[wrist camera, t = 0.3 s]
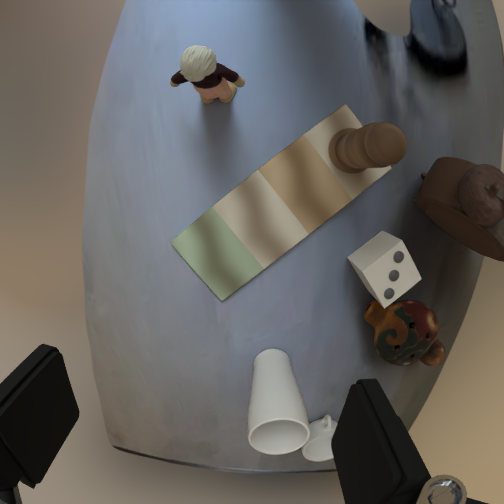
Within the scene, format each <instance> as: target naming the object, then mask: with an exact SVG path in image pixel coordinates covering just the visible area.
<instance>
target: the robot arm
mask: <svg viewBox="0 0 504 504" xmlns="http://www.w3.org/2000/svg"><path fill="white" fill-rule="evenodd" d="M78 418H79V408H78V405H77V402H76V400H75V396H74V393H73V390H72V387H71V384H70V381H69V377H68V374H67V371H66V367H65V363H64V360H63V356H62V354H61V353H60V352H59V350H58V349H57V348H56V347H53V346H49V345H46V344H41V345H40V346H39V347H38V348H36V349H35V350H34V351H33V352H32V353H31V354H30V355H29V356H28V357H27V358H26V359H25V360H24V361H23V362H22V363H21V364H20V365H19V366H18V367H17V368H16V369H15V370H14V371H13V372H12V373H11V374H10V375H9V376H8V377H7V378H6V379H5V380H4V381H3V382H2V383H1V384H0V504H22V501H21V497H20V493H19V489H18V485H17V484H18V482H19V481H21V482H22V483H24V484H26V485H27V486H29V487H31V488H33V489H34V487H35V485H36V484H38V483H40V482H41V481H42V480H43V478H44V476H45V474H46V472H47V471H48V469H49V467H50V465H51V463H52V462H53V460H54V458H55V457H56V455H57V453H58V451H59V450H60V448H61V446H62V445H63V443H64V441H65V440H66V438H67V436H68V435H69V433H70V431H71V430H72V428H73V426H74V425H75V423H76V422H77V420H78ZM331 449H332V453H333V457H334V461H335V465H336V468H337V472H338V476H339V480H340V484H341V488H342V492H343V496H344V500H345V504H488V503H484V502H481V501H477V500H474V499H470V498H467V491H466V488H465V486H464V485H463V483H462V482H461V481H460V480H459V479H457V478H455V477H453V476H450V475H437V476H435V477H433V478H431V476H430V474H429V472H428V470H427V468H426V466H425V464H424V462H423V460H422V458H421V456H420V455H419V452H418V451H417V448H416V446H415V445H414V443H413V441H412V439H411V437H410V435H409V433H408V431H407V429H406V428H405V426H404V424H403V422H402V420H401V419H400V417H399V416H397V415H396V413H395V411H394V409H393V408H392V406H391V404H390V402H389V400H388V398H387V397H386V395H385V393H384V391H383V389H382V388H381V386H380V384H379V382H378V381H377V379H360V380H358V381H357V382H356V384H353V385H351V387H350V390H349V393H348V396H347V399H346V402H345V405H344V407H343V410H342V413H341V416H340V418H339V421H338V424H337V427H336V429H335V432H334V434H333V437H332V440H331Z"/></svg>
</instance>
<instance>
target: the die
mask: <svg viewBox="0 0 504 504" xmlns="http://www.w3.org/2000/svg"><path fill="white" fill-rule="evenodd" d="M347 258H348V260H349V261H350V263H351V264H352V266H353V268H354V269H355V271H356V272H357V274H358V275H359V277H360V279H361V280H362V282H363V283H364V285H365V287H366V288H367V290H368V291H369V292H370V293H371V294H372V296H373V297H374V298H375V299H376V300H377V301H378V302H379V303H380V304H381V305H382V306H383V307H384V309H385V308H386V307H387V306H389V305H390V304H391V303H392V302H394V301H395V300H396V299H398V298H399V297H400V296H401V295H403V294H404V293H405V292H406V291H408V290H409V289H410V288H411V287H413V286H414V285H415V284H416V283H417V282H419V281H420V280H421V279H422V278H421V276H420V274H419V272H418V270H417V268H416V266H415V264H414V262H413V260H412V258H411V256H410V254H409V252H408V250H407V248H406V246H405V244H404V243H403V241H402V240H401V239H399V238H397V237H395V236H393V235H391V234H389V233H386V232H384V231H381V232H379V233H378V234H377V235H376V236H374V237H373V238H372V239H370V240H369V241H368V242H366V243H365V244H364V245H363V246H361V247H360V248H359V249H357V250H356V251H355V252H353V253H352V254H351V255H349V256H348V257H347Z"/></svg>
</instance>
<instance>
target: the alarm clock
mask: <svg viewBox="0 0 504 504" xmlns="http://www.w3.org/2000/svg"><path fill="white" fill-rule="evenodd" d="M422 177H425V178H424V180H423V182H422V185H421V188H420V191H419V193H418V196H417V198H413V202H416V203H417V205H418V206H419V208H420V209H421V210H422V211H423V212H424V213H425V214H426V215H427V216H428V217H429V218H430V219H431V220H432V221H433V222H434V223H435V224H436V225H437V226H438V227H440V228H441V229H442V230H443V231H445V232H446V233H447V234H449V235H450V236H452V237H453V238H454V239H456V240H457V241H459V242H460V243H462V244H464V245H465V246H467V247H468V248H470V249H472V250H474V251H476V252H478V253H480V254H482V255H484V256H487V257H490V258H493V259H495V260H498V261H504V174H503V173H502V172H501V171H500V170H499V169H498V168H496V167H494V166H492V165H488V164H481V165H476V164H474V163H472V162H469V161H466V160H463V159H458V158H451V157H442V158H439V159H437V160H436V161H435V162H434V164H433V165H432V167H431V169H430V170H429V172H428V173H427V174H426V173H422Z"/></svg>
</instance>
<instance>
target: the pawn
mask: <svg viewBox="0 0 504 504" xmlns="http://www.w3.org/2000/svg"><path fill="white" fill-rule="evenodd" d="M406 148H407V143H406V139H405V136H404V134H403V133H402V131H401V130H400V129H399V128H398V127H396V126H395V125H393V124H390V123H385V122H382V123H371V124H368V125H366V126H363V127H361V128H358V129H355V128H346V129H343V130H340V131H338V132H337V133H336V134H334V136H333V137H332V138H331V140H330V143H329V147H328V151H329V157H330V159H331V161H332V163H333V164H334V165H335V167H336V168H338V169H339V170H341V171H342V172H345V173H360V172H362V171H364V170H366V169H367V168H384V167H388V166H390V165H394V164H396V163H398V162H399V161H400V160H401V159H402V158H403V157H404V155H405V153H406Z"/></svg>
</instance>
